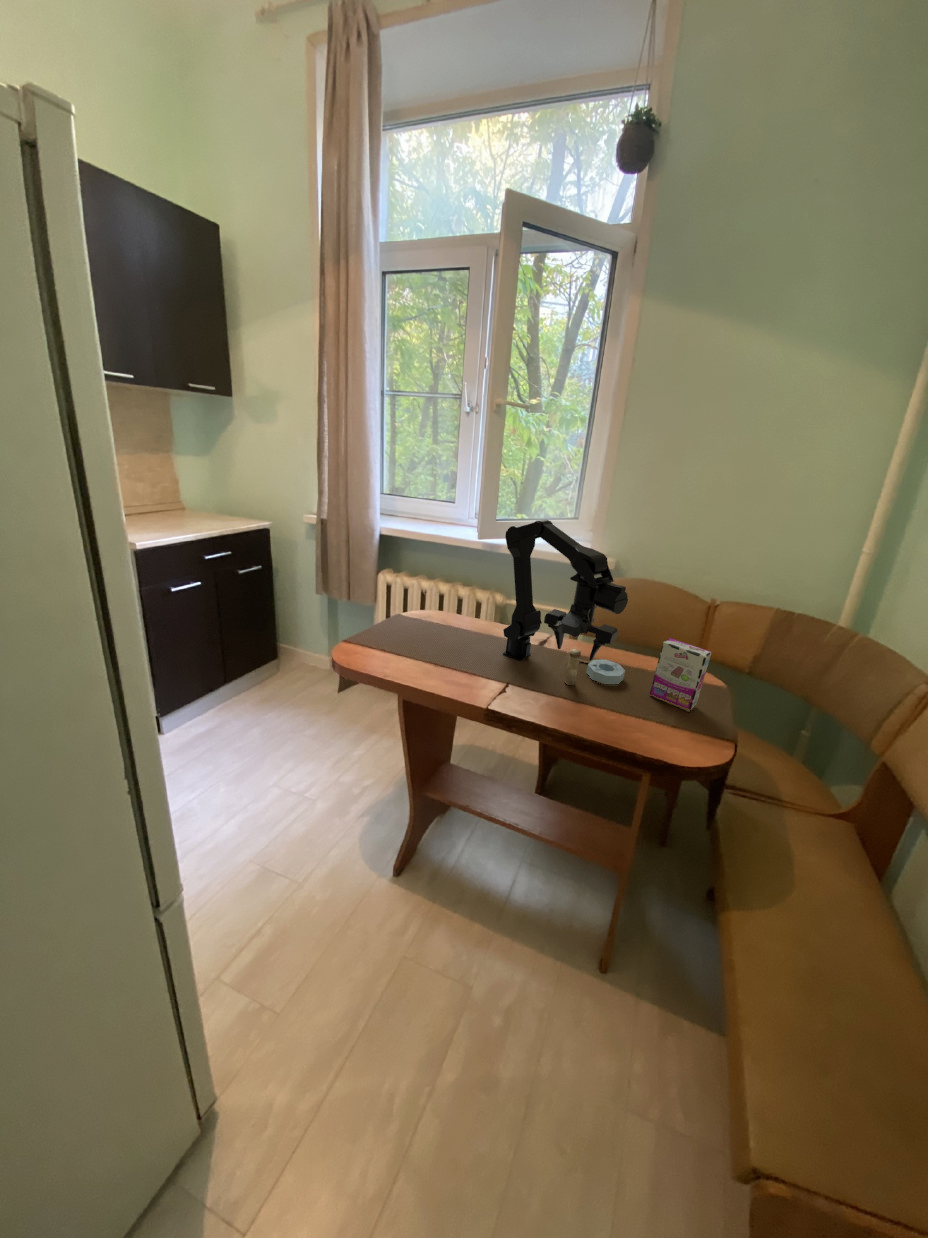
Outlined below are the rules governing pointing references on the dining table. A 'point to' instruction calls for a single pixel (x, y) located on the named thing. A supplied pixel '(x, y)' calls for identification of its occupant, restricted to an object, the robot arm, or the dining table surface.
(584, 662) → the brown wooden stick
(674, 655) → the candy bar box
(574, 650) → the beige wooden cylinder
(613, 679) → the bead
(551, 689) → the dining table surface
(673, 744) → the dining table surface
